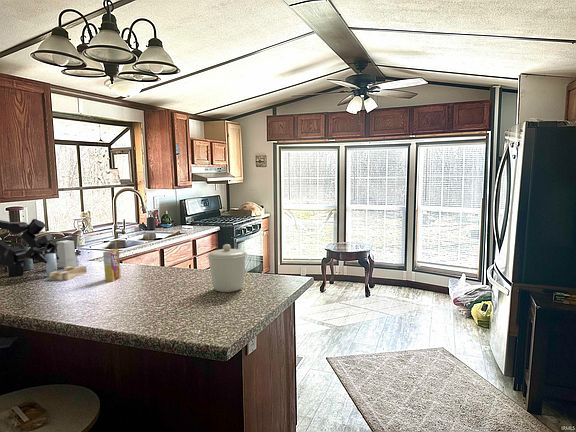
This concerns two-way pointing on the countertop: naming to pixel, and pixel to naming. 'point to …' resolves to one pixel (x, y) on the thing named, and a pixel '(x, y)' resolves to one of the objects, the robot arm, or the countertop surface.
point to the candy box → (112, 265)
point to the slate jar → (51, 263)
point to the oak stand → (68, 273)
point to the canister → (227, 268)
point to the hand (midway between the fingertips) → (53, 260)
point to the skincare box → (66, 253)
